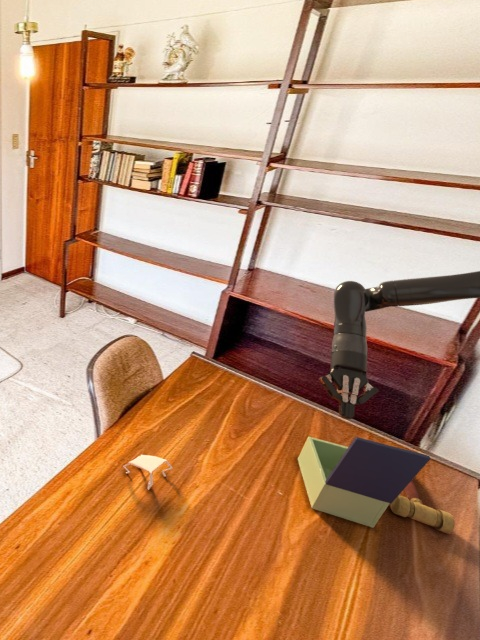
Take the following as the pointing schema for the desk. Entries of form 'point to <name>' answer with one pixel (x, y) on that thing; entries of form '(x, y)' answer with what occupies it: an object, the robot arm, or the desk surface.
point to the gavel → (421, 510)
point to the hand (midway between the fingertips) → (346, 418)
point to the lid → (376, 469)
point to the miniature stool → (148, 465)
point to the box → (316, 469)
